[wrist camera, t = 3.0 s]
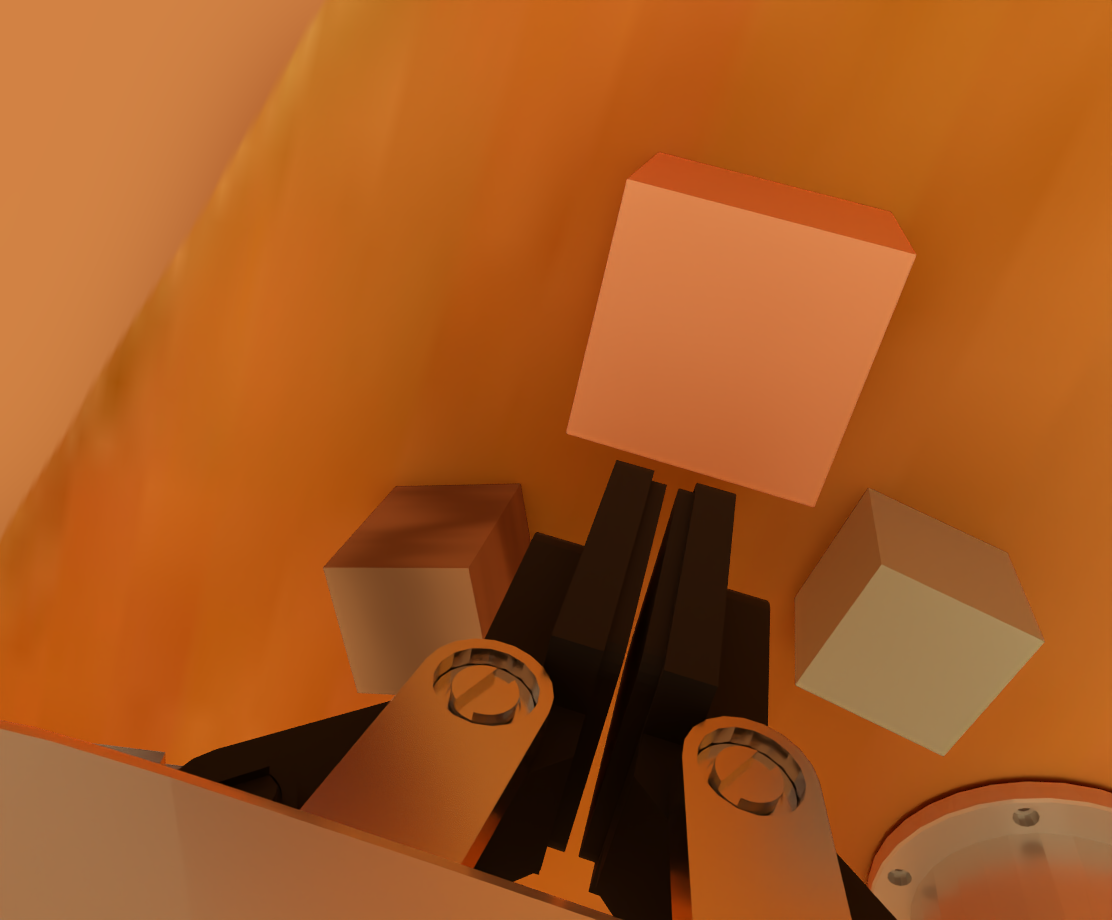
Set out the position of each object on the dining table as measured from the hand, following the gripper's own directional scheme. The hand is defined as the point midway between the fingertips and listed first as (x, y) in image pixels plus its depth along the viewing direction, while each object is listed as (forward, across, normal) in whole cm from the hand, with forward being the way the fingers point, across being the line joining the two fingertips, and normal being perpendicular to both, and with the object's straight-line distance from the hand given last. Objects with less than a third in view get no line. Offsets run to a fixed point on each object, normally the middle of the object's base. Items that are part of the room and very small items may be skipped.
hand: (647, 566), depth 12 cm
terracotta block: (+18, -1, +1) cm, 18 cm away
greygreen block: (+17, -9, +9) cm, 21 cm away
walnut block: (+17, +6, +13) cm, 23 cm away
